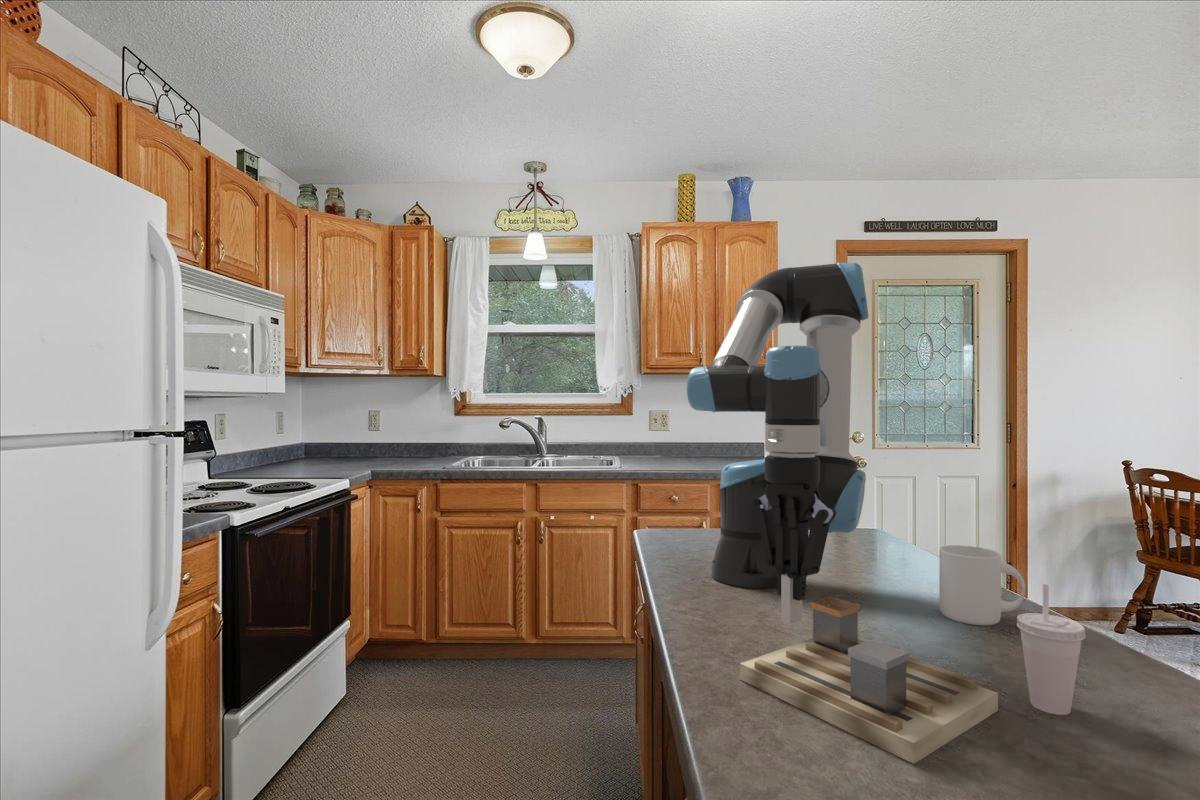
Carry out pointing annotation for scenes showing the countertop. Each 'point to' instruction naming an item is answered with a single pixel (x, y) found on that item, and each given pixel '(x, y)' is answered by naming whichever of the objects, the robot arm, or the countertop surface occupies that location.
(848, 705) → the beige flat board
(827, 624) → the block
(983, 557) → the mug
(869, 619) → the countertop surface
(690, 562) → the countertop surface
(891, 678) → the fader
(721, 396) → the robot arm
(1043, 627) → the smoothie
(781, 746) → the countertop surface
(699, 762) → the countertop surface
